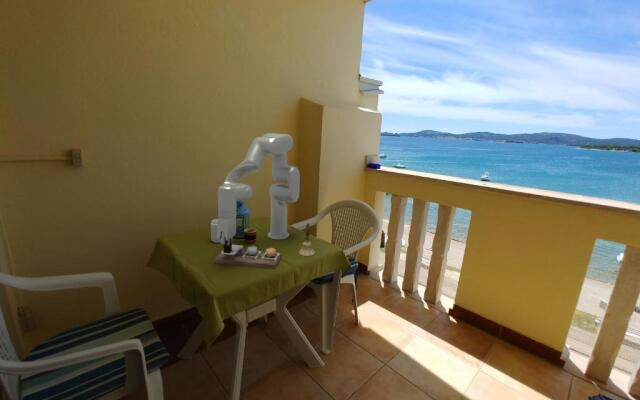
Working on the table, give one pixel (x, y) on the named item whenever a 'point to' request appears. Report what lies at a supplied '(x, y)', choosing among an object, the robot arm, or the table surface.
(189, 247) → the table surface
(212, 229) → the can
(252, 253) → the grey button
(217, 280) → the table surface
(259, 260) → the panel
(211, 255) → the table surface
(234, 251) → the rocker
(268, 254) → the orange button
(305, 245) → the hand bell
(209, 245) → the table surface
